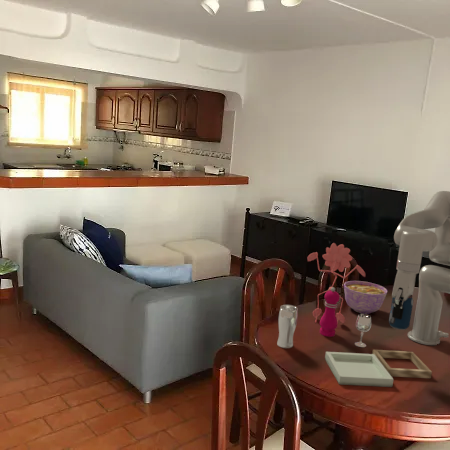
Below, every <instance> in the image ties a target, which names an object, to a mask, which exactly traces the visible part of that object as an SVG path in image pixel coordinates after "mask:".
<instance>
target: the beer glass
mask: <svg viewBox="0 0 450 450" xmlns="http://www.w3.org/2000/svg"><path fill="white" fill-rule="evenodd" d="M298 312H299V311H298V307H297V306H295V305H292V304H283V305H280V307H279V313H278V321H277V322H278V332H279V333H278V339H277V342H276V344H277V346H278V347H280V348H283V349H291V348H293V347H294V333H295V330H296V327H297V322H298Z"/></svg>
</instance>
